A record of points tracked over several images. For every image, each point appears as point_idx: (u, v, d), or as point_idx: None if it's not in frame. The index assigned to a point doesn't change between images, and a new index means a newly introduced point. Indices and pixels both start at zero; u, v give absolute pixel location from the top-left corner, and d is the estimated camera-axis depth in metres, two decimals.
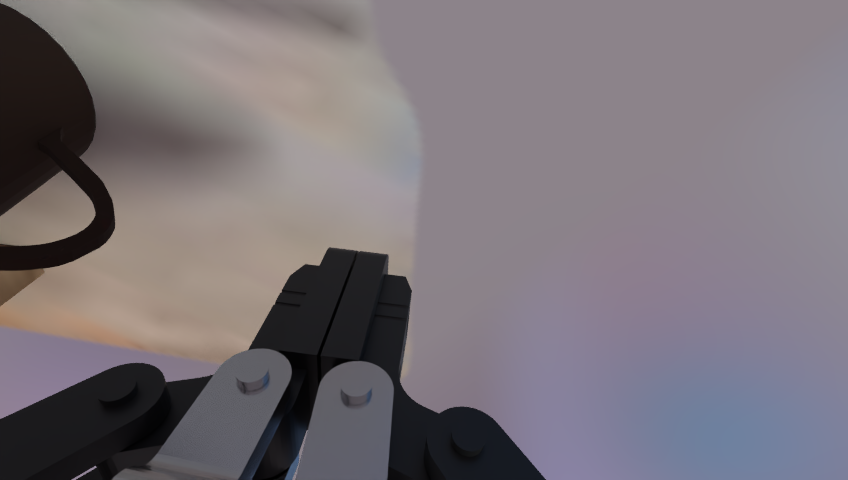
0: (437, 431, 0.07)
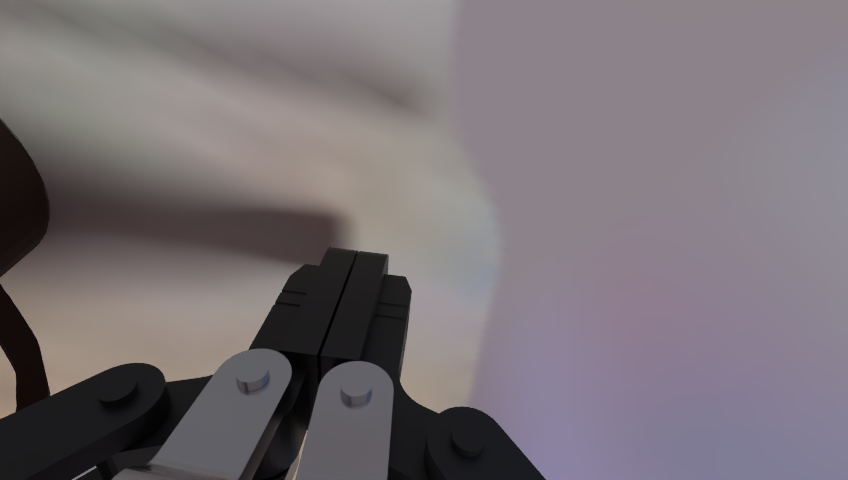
0: (437, 431, 0.07)
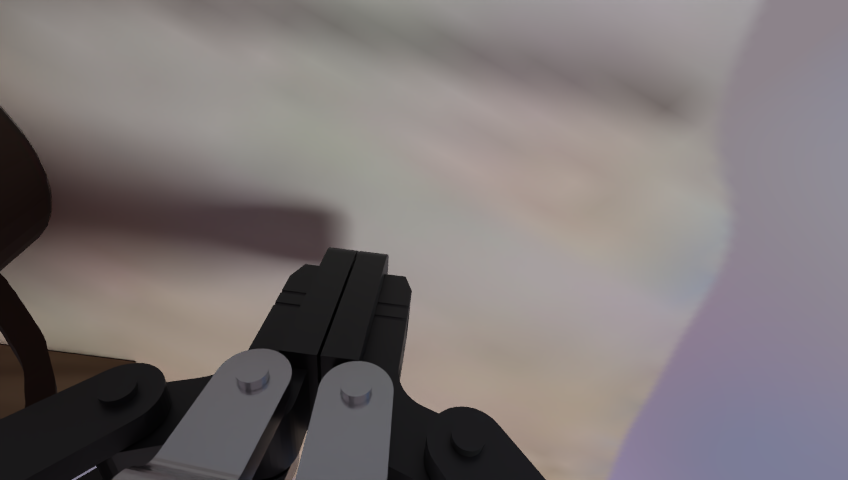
0: (437, 431, 0.07)
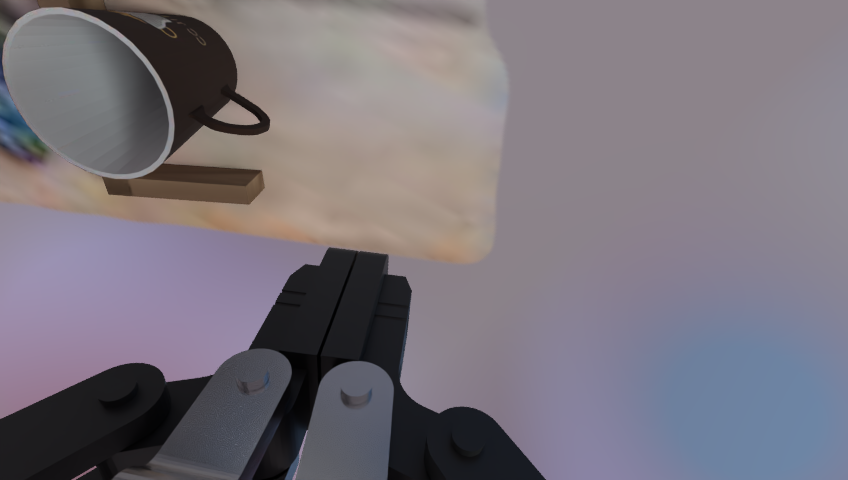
0: (437, 431, 0.07)
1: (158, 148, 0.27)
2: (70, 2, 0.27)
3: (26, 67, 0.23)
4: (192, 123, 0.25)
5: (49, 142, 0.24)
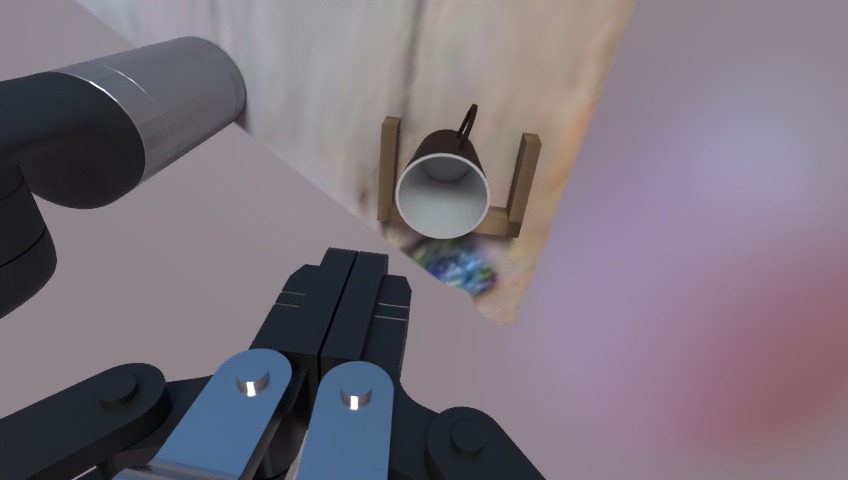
0: (437, 431, 0.07)
1: (481, 181, 0.42)
2: None
3: (424, 226, 0.43)
4: (466, 152, 0.40)
5: (463, 232, 0.42)
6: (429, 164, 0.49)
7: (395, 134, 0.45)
